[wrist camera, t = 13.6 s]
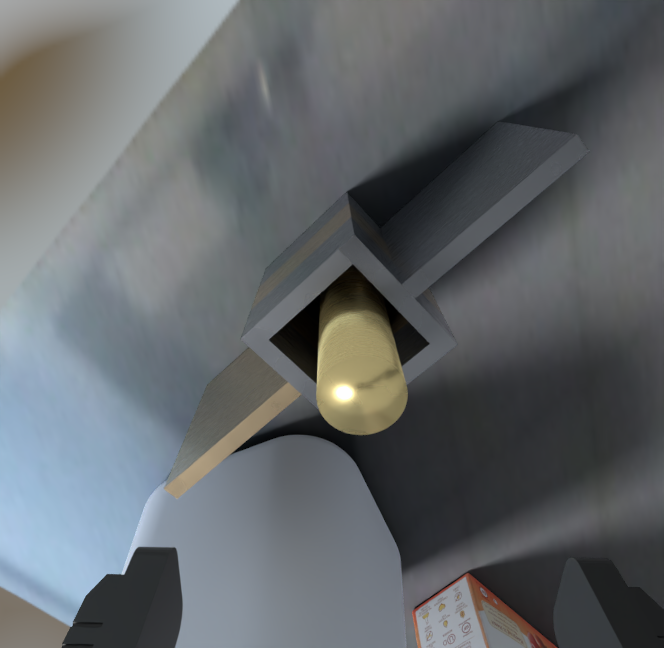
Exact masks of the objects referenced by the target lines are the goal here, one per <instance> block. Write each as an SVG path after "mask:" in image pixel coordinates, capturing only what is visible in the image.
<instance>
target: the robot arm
mask: <svg viewBox="0 0 664 648" xmlns="http://www.w3.org/2000/svg"><path fill="white" fill-rule="evenodd" d="M182 611H183V599H182V590H181V581H180V571H179V562H178V554H177V550H176V548H175V547H138V548H137V549H136V550H135V551H134V553H133V556H132V558H131V560H130V562H129V565H128V567H127V569H126V572H125V574H124V575H121V574H107V575H106V576H105V577H104V578H103V579H102V580H101V581H100V582H99V583H98V584H97V585H96V586H95V587H94V588H93V589H92V590H91V591H90V592H89V593H88V594H87V595H86V597H85V599H84V601H83V603H82V605H81V607H80V609H79V611H78V613H77V615H76V617H75V619H74V621H73V626H72V627H70V629H69V631H68V633H67V635H66V637H65V639H64V642H63V643H62V648H175V646H176V642H177V639H178V635H179V631H180V626H181V620H182ZM553 625H554V632H555V636H556V640H557V643H558V646H559V648H664V609H662V608H661V607H660V606H659V605H658V604H657V603H656V602H655V601H654V600H653V599H652V598H650V597H649V596H648V595H647V594H646V593H645V592H644V591H643V590H642V589H641V588H640V587H627V585H626V583H625V582H624V580H623V578H622V577H621V575H620V573H619V572H618V570H617V568H616V567H615V565H614V564H613V563H612V561H610V560H609V559H607V558H568V559H567V561H566V563H565V567H564V571H563V574H562V578H561V582H560V586H559V590H558V594H557V598H556V602H555V606H554V611H553Z"/></svg>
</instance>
